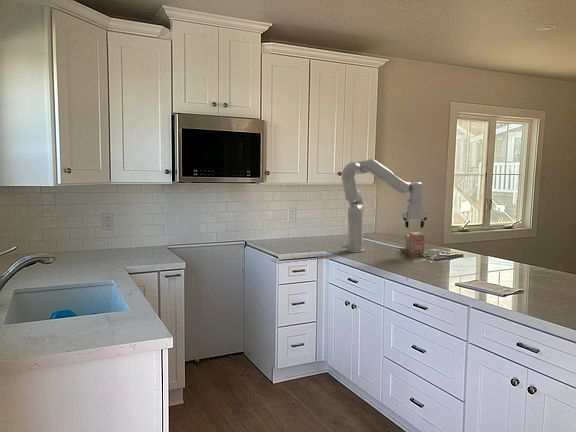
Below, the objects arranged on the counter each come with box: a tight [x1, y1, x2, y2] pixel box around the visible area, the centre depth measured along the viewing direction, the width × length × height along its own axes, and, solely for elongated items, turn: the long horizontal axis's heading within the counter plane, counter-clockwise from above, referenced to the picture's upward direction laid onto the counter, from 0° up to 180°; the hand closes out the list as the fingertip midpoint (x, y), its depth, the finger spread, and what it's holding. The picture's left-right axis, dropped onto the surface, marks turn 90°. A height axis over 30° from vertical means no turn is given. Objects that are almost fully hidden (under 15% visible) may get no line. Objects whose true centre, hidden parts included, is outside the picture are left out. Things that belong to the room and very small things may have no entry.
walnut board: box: [400, 247, 425, 258], centre depth 304 cm, size 12×27×1 cm, turn 2°
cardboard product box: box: [405, 231, 425, 254], centre depth 304 cm, size 21×6×12 cm, turn 2°
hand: (414, 227), depth 302 cm, fingers open, 9 cm apart
